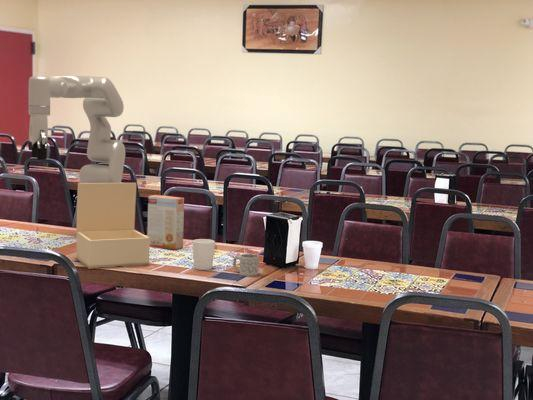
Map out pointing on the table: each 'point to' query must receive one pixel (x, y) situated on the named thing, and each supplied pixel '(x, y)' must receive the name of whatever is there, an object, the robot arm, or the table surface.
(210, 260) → the white cup
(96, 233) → the carton
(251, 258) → the mug
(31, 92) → the robot arm
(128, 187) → the carton lid
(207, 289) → the table surface
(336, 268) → the table surface
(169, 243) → the cracker box
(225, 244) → the table surface
